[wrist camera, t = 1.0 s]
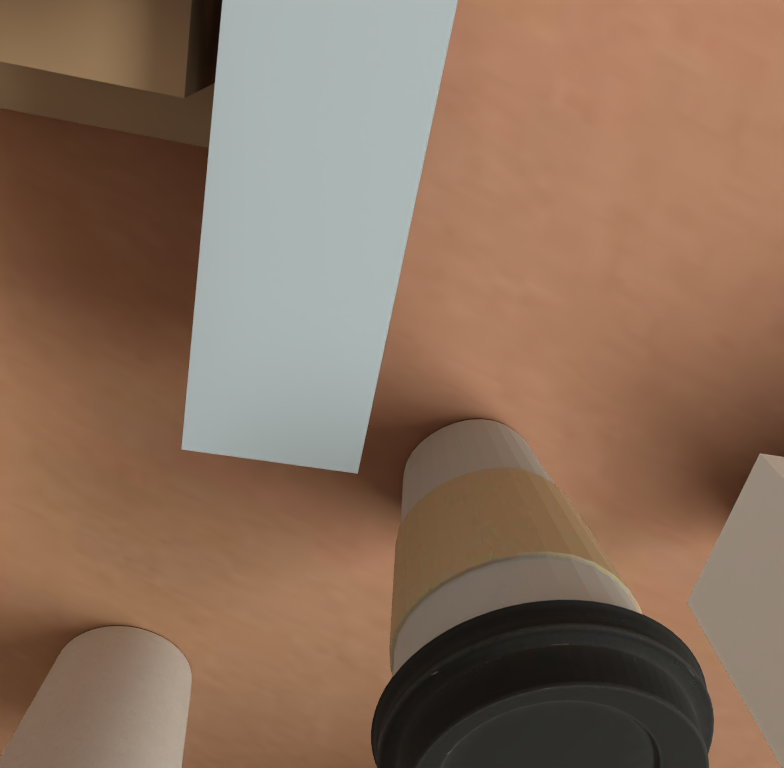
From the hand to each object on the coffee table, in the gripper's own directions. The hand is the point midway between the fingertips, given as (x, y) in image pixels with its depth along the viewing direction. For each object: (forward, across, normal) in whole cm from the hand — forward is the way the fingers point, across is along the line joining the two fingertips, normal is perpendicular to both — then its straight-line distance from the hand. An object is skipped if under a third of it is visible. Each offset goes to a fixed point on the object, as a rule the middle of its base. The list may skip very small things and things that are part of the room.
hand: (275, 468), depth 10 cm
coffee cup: (+19, -8, +11) cm, 24 cm away
